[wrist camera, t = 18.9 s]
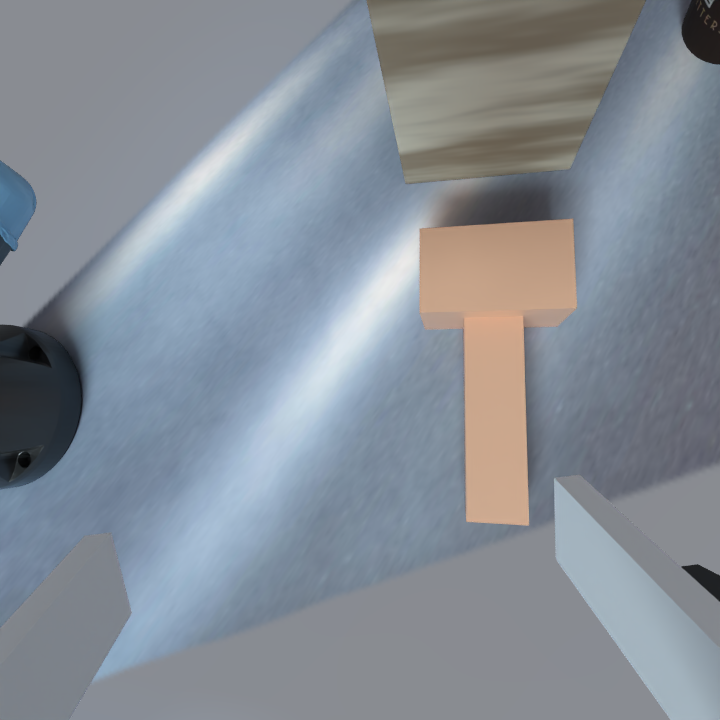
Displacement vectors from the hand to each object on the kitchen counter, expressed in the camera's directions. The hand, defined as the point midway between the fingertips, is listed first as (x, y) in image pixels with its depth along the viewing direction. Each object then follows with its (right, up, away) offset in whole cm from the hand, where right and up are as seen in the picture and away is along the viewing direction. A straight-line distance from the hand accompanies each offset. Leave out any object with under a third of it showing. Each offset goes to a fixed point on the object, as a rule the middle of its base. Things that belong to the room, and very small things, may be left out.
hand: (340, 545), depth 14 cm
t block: (+11, +5, +22) cm, 25 cm away
